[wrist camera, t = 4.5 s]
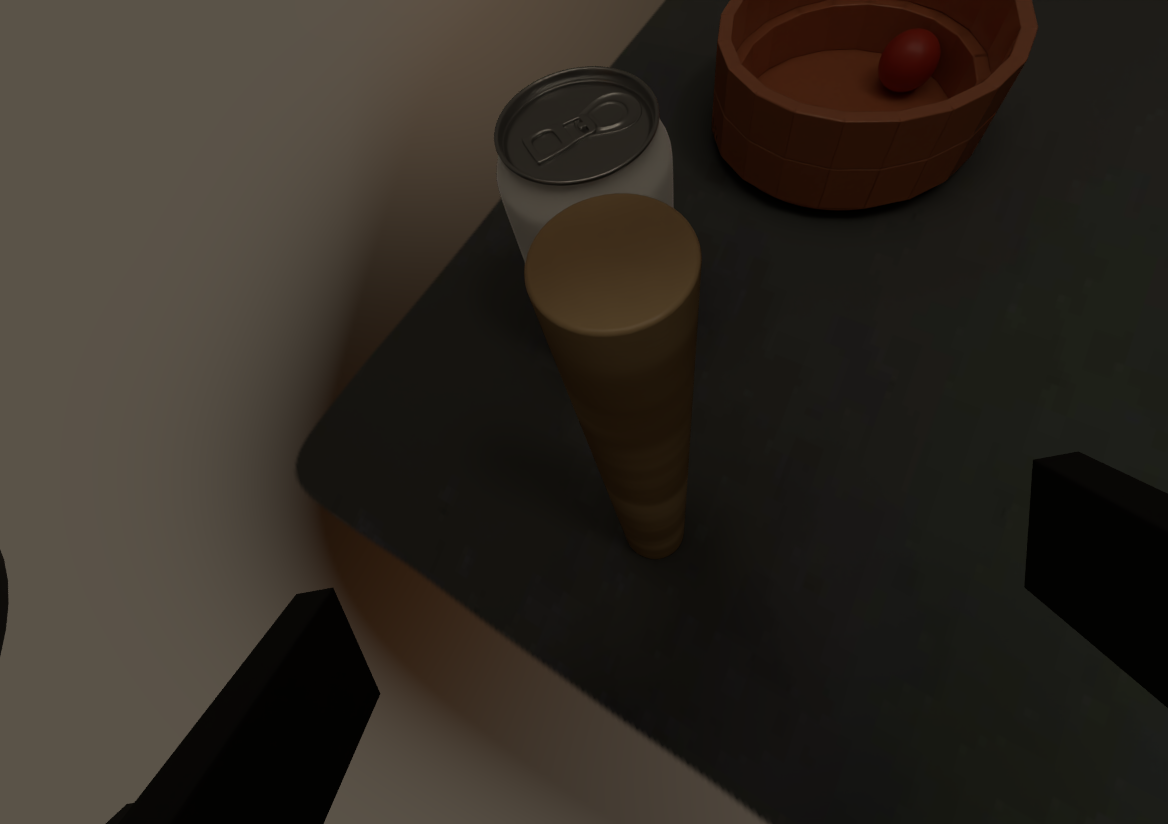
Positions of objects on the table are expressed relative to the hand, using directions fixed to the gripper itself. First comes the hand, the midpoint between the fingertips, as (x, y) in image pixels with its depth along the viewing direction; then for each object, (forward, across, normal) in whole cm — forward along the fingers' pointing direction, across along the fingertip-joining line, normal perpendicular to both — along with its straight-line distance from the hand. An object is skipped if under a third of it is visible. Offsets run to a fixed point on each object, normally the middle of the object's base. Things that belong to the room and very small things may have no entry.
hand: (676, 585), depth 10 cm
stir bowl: (+27, +15, +9) cm, 33 cm away
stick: (+12, 0, -6) cm, 14 cm away
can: (+20, 0, +1) cm, 20 cm away
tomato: (+27, +19, +11) cm, 35 cm away
